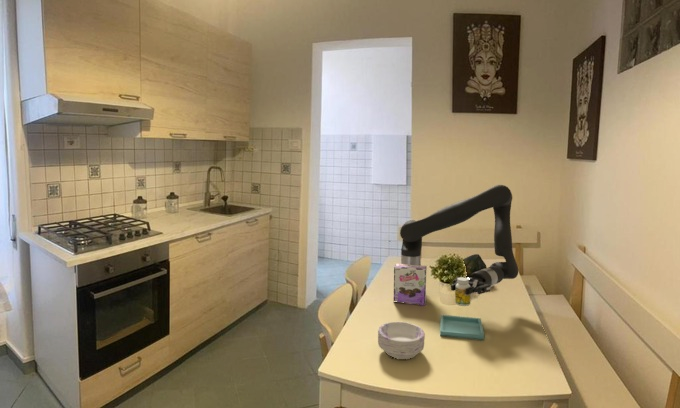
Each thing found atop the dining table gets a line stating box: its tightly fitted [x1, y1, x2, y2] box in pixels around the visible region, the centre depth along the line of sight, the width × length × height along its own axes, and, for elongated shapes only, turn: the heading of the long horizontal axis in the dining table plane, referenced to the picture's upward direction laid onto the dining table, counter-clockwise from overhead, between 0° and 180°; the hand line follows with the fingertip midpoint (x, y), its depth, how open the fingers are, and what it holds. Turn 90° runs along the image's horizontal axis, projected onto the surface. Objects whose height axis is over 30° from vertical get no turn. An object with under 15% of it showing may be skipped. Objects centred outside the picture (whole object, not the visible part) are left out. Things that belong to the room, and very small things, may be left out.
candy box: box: [393, 263, 428, 306], centre depth 179 cm, size 14×6×16 cm, turn 74°
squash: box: [462, 253, 488, 278], centre depth 205 cm, size 14×15×15 cm
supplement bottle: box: [454, 277, 472, 307], centre depth 151 cm, size 5×5×10 cm
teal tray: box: [439, 314, 485, 341], centre depth 153 cm, size 15×15×2 cm
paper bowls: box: [377, 320, 426, 360], centre depth 135 cm, size 15×15×8 cm
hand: (459, 289), depth 149 cm, fingers closed on supplement bottle, 5 cm apart
